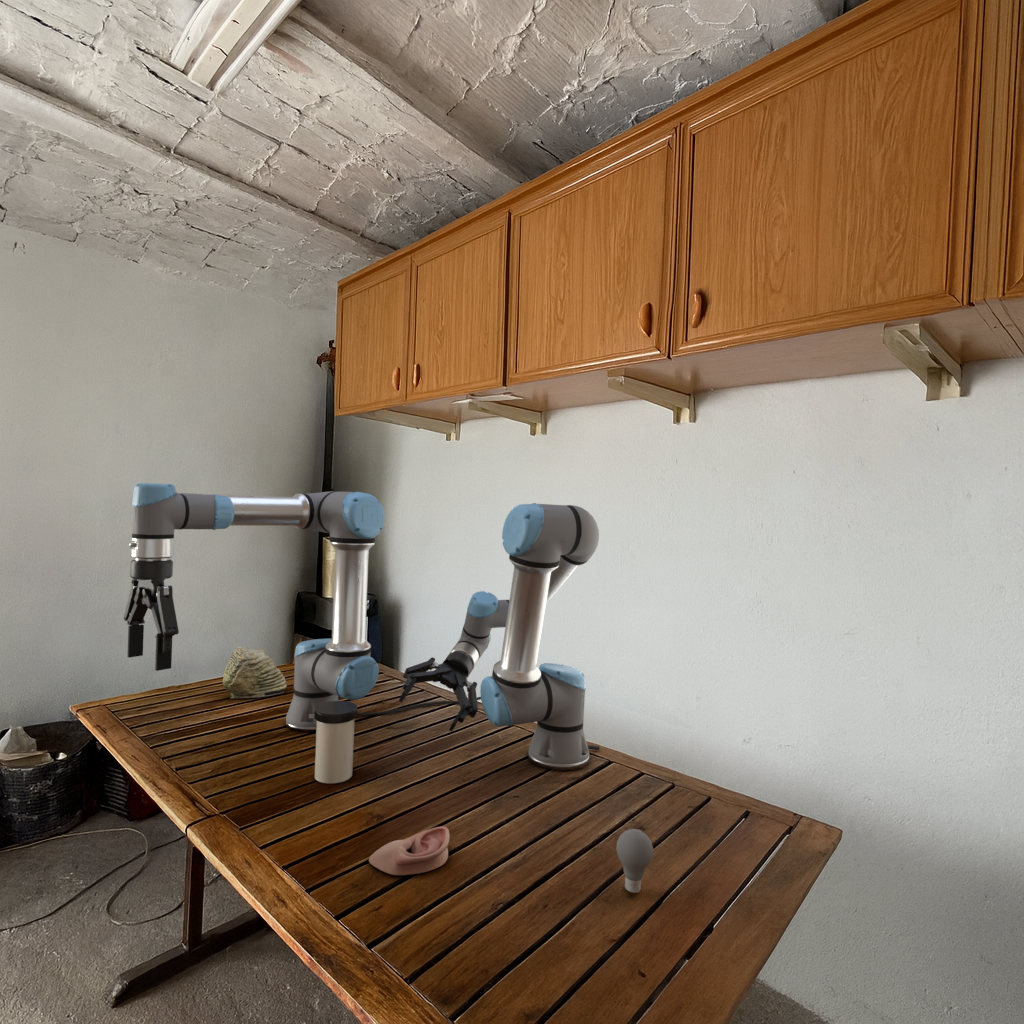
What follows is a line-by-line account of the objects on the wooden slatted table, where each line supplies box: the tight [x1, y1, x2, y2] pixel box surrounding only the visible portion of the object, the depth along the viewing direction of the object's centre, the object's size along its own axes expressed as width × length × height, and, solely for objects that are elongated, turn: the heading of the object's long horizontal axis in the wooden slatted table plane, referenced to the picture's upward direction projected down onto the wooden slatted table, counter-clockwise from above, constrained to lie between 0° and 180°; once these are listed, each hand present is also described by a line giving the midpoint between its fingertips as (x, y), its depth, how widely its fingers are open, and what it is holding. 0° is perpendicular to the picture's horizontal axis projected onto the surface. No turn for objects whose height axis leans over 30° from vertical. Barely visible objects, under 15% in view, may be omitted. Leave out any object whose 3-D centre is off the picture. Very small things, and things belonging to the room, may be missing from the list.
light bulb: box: [615, 828, 654, 894], centre depth 106 cm, size 6×6×10 cm
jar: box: [313, 718, 356, 784], centre depth 144 cm, size 8×8×15 cm
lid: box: [314, 700, 359, 724], centre depth 144 cm, size 9×9×2 cm
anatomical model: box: [368, 826, 451, 876], centre depth 112 cm, size 13×4×12 cm
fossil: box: [222, 646, 288, 699], centre depth 198 cm, size 9×18×15 cm, turn 132°
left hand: (148, 662), depth 129 cm, fingers open, 13 cm apart
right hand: (426, 712), depth 148 cm, fingers open, 13 cm apart
